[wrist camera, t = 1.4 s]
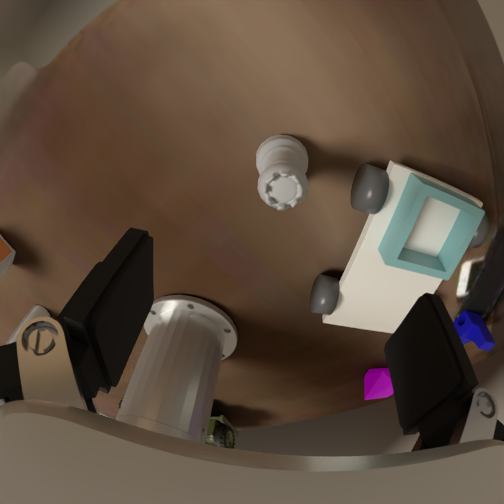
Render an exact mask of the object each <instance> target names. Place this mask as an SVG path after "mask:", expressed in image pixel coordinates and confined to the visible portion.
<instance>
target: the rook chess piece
mask: <svg viewBox="0 0 504 504" xmlns="http://www.w3.org/2000/svg"><path fill="white" fill-rule="evenodd" d="M308 161H309V160H308V154H307V151H306V148H305V147H304V146H303V144H302V143H301V142H300V141H299V140H297V139H295V138H294V137H292V136H290V135H276V136H272V137H269V138H268V139H267V140H265V141H264V142H263V143H262V144H261V145H260V147H259V149H258V151H257V154H256V166H257V169H258V172H259V174H260V177H259V179H258V191H259V194H260V197H261V198H262V199H263V200H264V202H265V203H266V204H267V205H269V206H271V207H274V208H276V209H277V210H284V211H285V210H286V209H289V208H294V207H296V206H297V205H298V204H300V203H301V202H302V201H303V200H304V198H305V197H306V195H307V192H308V185H309V184H308V181H307V178H306V175H305V173H306V172H307V170H308Z"/></svg>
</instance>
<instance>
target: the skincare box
mask: <svg viewBox="0 0 504 504" xmlns="http://www.w3.org/2000/svg"><path fill="white" fill-rule="evenodd" d="M15 253H16V251H15V250H14V249H12V247H11V246H10V245H9V244H8V243H7V242H6V240H5V239H4V238H3V237H2V236H1V234H0V277H1V276H2V275H3V274H4V273H5V272H6V271H7V270H8V269H9V268H10V266H11V265H12V263H13V259H14V256H15Z"/></svg>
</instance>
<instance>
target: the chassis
mask: <svg viewBox="0 0 504 504" xmlns="http://www.w3.org/2000/svg"><path fill="white" fill-rule="evenodd" d="M482 205H483V203H482V202H481V201H480V200H479V199H477V198H475V197H473V196H471V195H469V194H467V193H465V192H463V191H461V190H459V189H457V188H455V187H453V186H451V185H448V184H446V183H444V182H442V181H440V180H437V179H435V178H433V177H431V176H428V175H426V174H424V173H421V172H419V171H416V170H414V169H411V168H409V167H407V166H404V165H401V164H399V163H396V162H394V161H391V160H390V162H389V164H388V167H387V170H383V169H381V168H378V167H375V166H372V165H369V164H366V163H364V164H362V165H361V166H360V168H359V169H358V171H357V173H356V175H355V178H354V181H353V185H352V189H351V206H352V208H353V209H356V210H360V211H363V212H366V213H370V214H369V216H368V219H367V221H366V224H365V226H364V228H363V231H362V233H361V235H360V238H359V240H358V242H357V244H356V247H355V249H354V251H353V253H352V256H351V258H350V260H349V262H348V264H347V267H346V269H345V271H344V273H343V275H342V277H341V279H340V281H339V280H338V278H335V277H331V276H326V275H321V274H319V275H318V276H317V277H316V279H315V281H314V284H313V287H312V291H311V296H310V310H311V312H312V313H318V314H323V316H322V319H323V323H328V324H334V325H340V326H346V327H353V328H359V329H366V330H373V331H380V332H387V333H394V332H395V331H396V329H397V328H398V326H399V325H400V324H401V322H402V321H403V319H404V318H405V317H406V315H407V314H408V312H409V311H410V309H411V308H412V307H413V305H414V304H415V302H416V301H417V299H418V298H419V297H420V296H422V295H423V294H425V293H430V294H434V292H435V291H436V289H437V288H438V286H439V285H440V283H441V281H442V280H443V279H444V280H449V278H450V276H451V275H452V273H453V272H454V270H455V268H456V267H457V265H458V263H459V261H460V260H461V258H462V256H463V254H464V253H465V251H466V249H467V247H468V246H469V247H471V248H478V247H480V246H481V245H482V244H483V243H484V242H485V240H486V238H487V236H488V232H489V220H488V217H487V215H486V214H485V211H484V210H483V209H482V208H481V207H482Z"/></svg>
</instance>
